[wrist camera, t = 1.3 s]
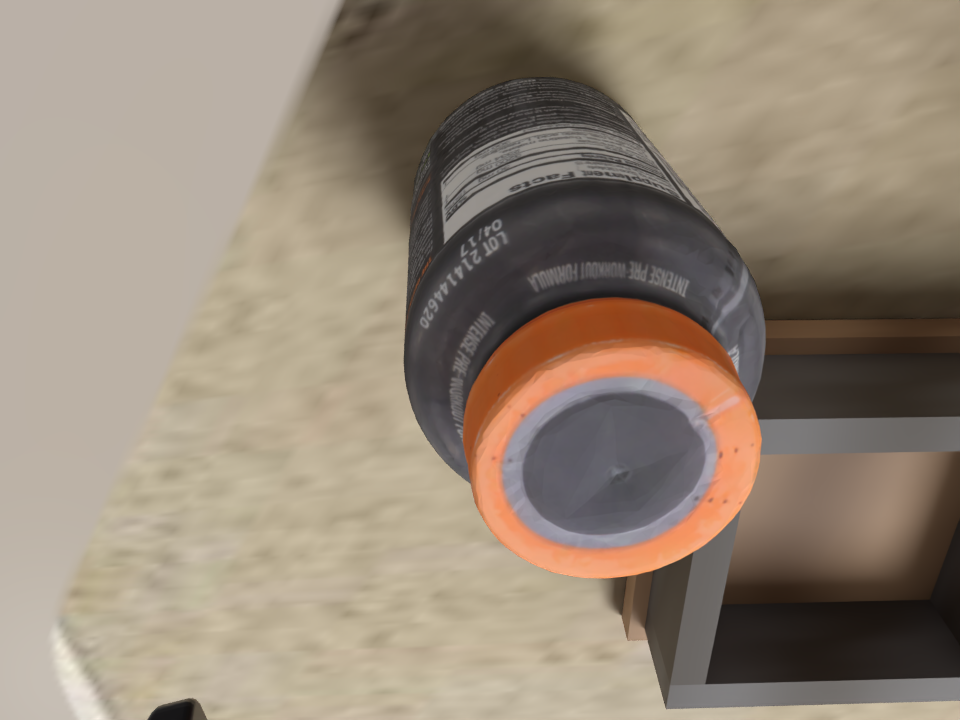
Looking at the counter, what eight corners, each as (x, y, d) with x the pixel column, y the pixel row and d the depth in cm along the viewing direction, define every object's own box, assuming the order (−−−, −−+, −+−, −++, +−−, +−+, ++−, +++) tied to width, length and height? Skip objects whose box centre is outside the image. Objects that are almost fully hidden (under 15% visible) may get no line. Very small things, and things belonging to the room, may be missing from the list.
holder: (1059, 317, 24) (1166, 395, 20) (946, 609, 29) (1015, 710, 26) (659, 321, 23) (698, 402, 20) (621, 617, 29) (647, 721, 25)
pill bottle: (574, 338, 23) (672, 683, 14) (373, 245, 22) (319, 560, 12) (702, 143, 21) (935, 394, 11) (485, 22, 19) (533, 189, 9)
